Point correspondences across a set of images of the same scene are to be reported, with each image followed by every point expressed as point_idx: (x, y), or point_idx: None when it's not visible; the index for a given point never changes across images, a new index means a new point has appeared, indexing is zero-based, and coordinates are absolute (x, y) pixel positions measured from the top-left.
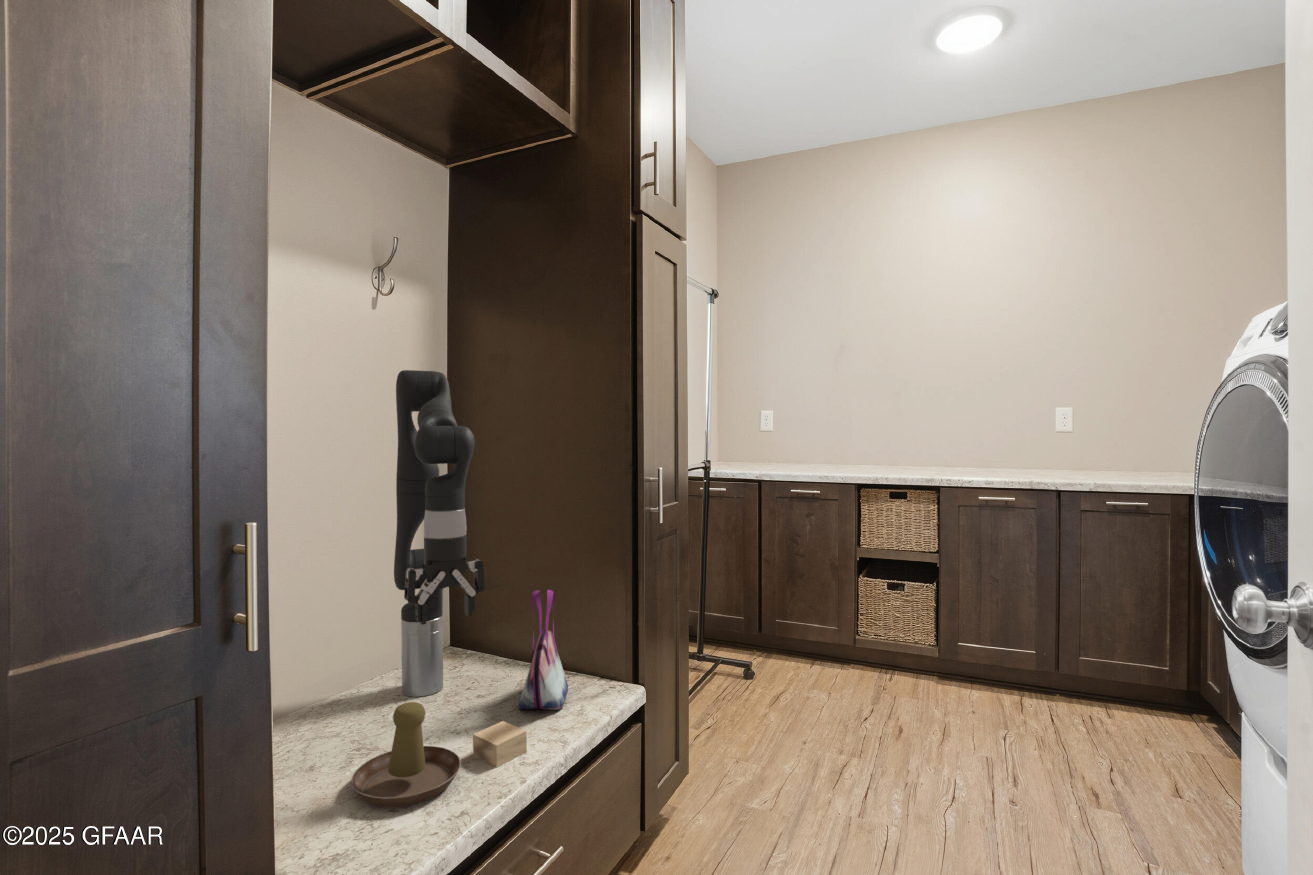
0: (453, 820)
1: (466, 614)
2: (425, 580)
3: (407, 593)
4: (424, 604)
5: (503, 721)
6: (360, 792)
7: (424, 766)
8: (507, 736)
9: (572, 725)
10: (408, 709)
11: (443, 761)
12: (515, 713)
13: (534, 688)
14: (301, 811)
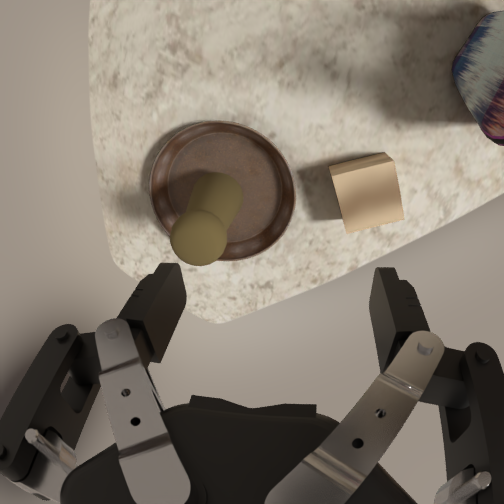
0: (255, 290)
1: (372, 290)
2: (108, 411)
3: (62, 392)
4: (153, 359)
5: (393, 163)
6: (159, 221)
7: (240, 208)
8: (373, 217)
9: (481, 177)
10: (190, 259)
11: (280, 167)
12: (441, 73)
13: (481, 128)
14: (110, 184)
